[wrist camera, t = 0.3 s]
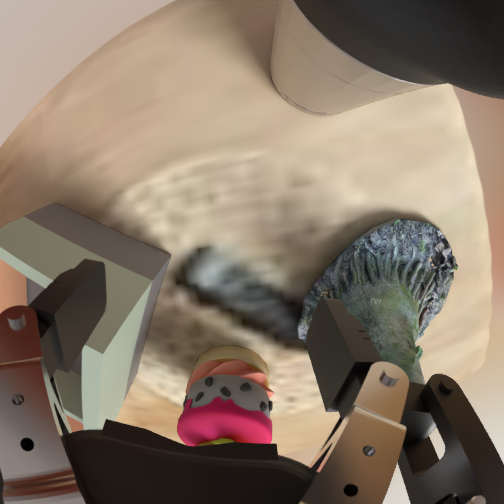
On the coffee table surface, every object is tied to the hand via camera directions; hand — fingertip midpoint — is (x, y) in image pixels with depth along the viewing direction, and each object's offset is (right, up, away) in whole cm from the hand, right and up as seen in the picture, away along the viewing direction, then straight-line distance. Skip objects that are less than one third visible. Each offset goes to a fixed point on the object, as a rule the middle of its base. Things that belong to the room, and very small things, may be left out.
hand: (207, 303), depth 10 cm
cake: (-1, -14, +26) cm, 29 cm away
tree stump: (+17, -3, +21) cm, 27 cm away
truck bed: (-18, -4, +22) cm, 29 cm away
